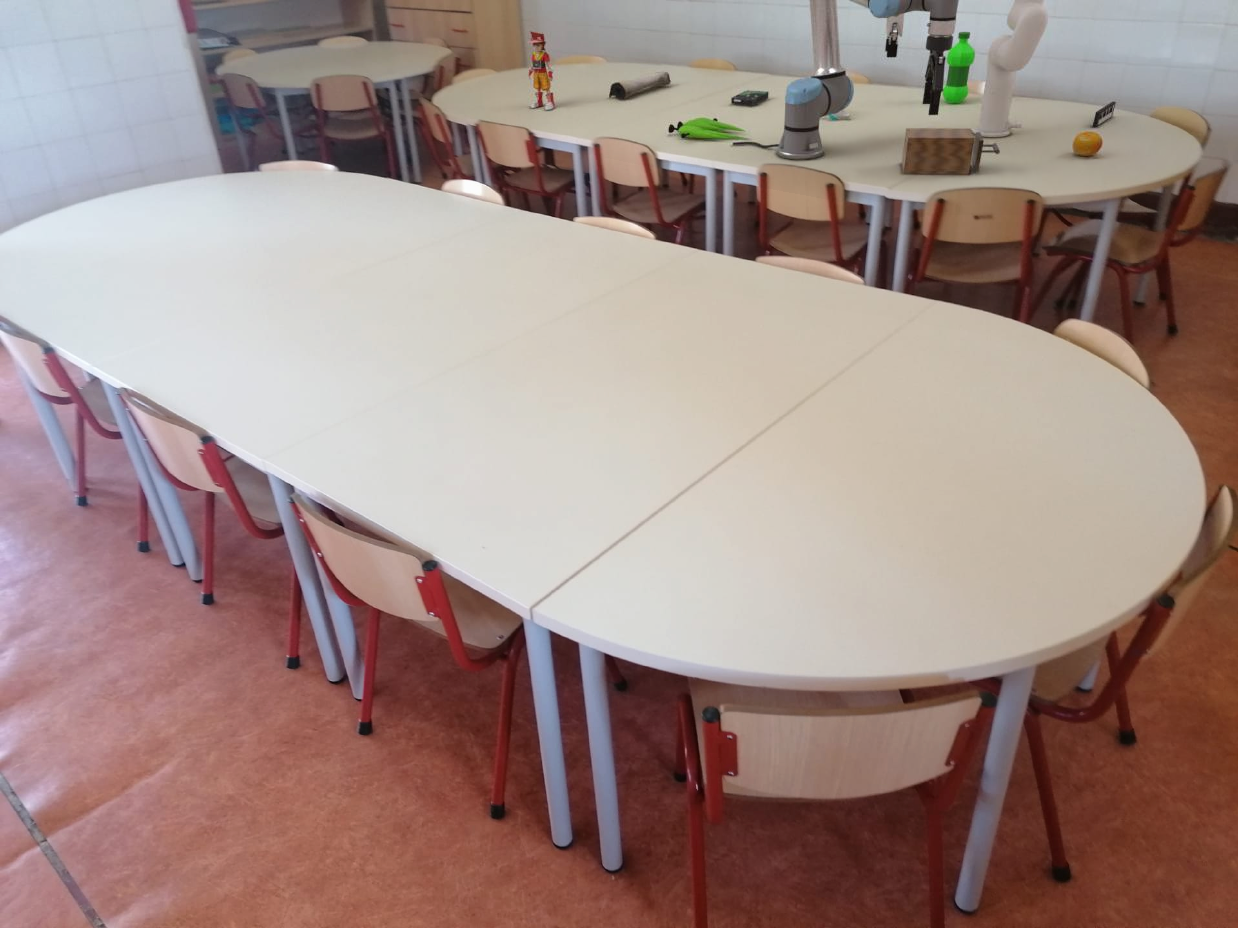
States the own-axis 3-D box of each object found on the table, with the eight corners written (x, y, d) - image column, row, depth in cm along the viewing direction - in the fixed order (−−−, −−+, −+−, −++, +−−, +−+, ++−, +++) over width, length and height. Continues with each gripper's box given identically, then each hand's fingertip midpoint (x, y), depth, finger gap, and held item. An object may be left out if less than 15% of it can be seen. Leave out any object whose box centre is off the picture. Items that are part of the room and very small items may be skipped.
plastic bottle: (973, 101, 354) (984, 32, 339) (955, 106, 349) (966, 36, 335) (952, 97, 361) (962, 29, 346) (934, 102, 356) (944, 33, 342)
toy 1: (525, 109, 381) (517, 32, 364) (534, 104, 388) (527, 28, 371) (550, 110, 377) (543, 32, 360) (559, 105, 384) (553, 28, 367)
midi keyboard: (1096, 127, 316) (1099, 112, 313) (1092, 126, 317) (1095, 112, 314) (1112, 116, 326) (1116, 101, 323) (1108, 115, 327) (1112, 101, 324)
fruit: (1068, 146, 288) (1086, 124, 285) (1065, 149, 295) (1083, 127, 292) (1091, 161, 286) (1109, 138, 283) (1087, 163, 294) (1105, 141, 291)
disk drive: (753, 107, 365) (768, 98, 375) (754, 100, 363) (769, 91, 373) (730, 105, 370) (746, 96, 380) (730, 98, 368) (746, 89, 378)
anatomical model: (813, 89, 348) (838, 82, 348) (816, 116, 354) (841, 109, 353) (823, 98, 336) (849, 91, 335) (826, 126, 342) (852, 119, 341)
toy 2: (657, 137, 330) (731, 151, 317) (658, 122, 327) (732, 136, 314) (693, 125, 350) (763, 137, 338) (694, 111, 347) (764, 123, 335)
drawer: (992, 161, 288) (998, 132, 282) (997, 171, 280) (1002, 140, 275) (915, 161, 292) (919, 132, 287) (917, 170, 284) (921, 140, 279)
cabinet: (964, 164, 290) (970, 128, 284) (968, 174, 281) (974, 138, 275) (901, 163, 294) (906, 128, 288) (903, 174, 285) (908, 137, 279)
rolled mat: (651, 76, 408) (662, 61, 399) (662, 93, 408) (674, 79, 400) (605, 92, 391) (616, 77, 383) (617, 110, 391) (628, 95, 383)
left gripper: (921, 28, 278) (912, 100, 290) (933, 43, 258) (922, 120, 270) (947, 27, 277) (936, 99, 289) (960, 42, 257) (948, 119, 269)
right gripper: (910, 1, 285) (903, 59, 294) (907, -7, 298) (900, 49, 308) (886, 2, 286) (880, 60, 296) (883, -6, 300) (878, 49, 310)
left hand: (929, 109), depth 280 cm, fingers open, 13 cm apart
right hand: (890, 54), depth 302 cm, fingers open, 9 cm apart
